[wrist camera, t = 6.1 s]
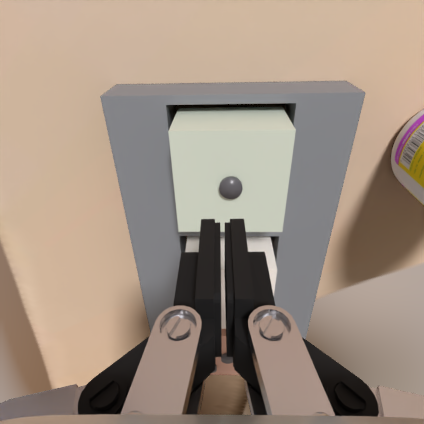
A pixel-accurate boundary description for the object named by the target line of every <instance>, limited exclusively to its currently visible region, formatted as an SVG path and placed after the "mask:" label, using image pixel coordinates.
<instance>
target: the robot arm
mask: <svg viewBox="0 0 424 424" xmlns="http://www.w3.org/2000/svg"><path fill="white" fill-rule="evenodd" d="M225 313H226V351H227V357H233V367H234V370H235V371H236V372H237V373H238V374H239V375H240V376H242V377H243V378H244V384H245V389H246V393H247V398H248V403H249V407H250V412H251V415H200V409H201V404H202V398H203V393H204V387H205V379H206V378H207V377H208V376H209V375H210V374H211V373H212V372H213V371H214V370H215V367H216V357H222V334H221V240H220V222H217V223H215V219H201V226H200V239H199V252H182V253H181V257H180V263H179V270H178V277H177V283H176V290H175V297H174V303H173V307H170V308H168V309H166V310H164V311H163V312H162V313H161V314H160V315H159V316H158V318H157V319H156V321H155V323H154V326H153V329H152V331H151V334H150V336H149V337H148V338H147V339H145V340H144V341H143V342H141V343H140V344H139V345H137V346H136V347H135V348H133V349H132V350H131V351H129V352H128V353H127V354H125V355H124V356H123V357H121V358H120V359H119V360H117V361H116V362H115V363H113V364H112V365H111V366H109V367H108V368H107V369H105V370H104V371H103V372H101V373H100V374H99V375H97V376H96V377H95V378H93V379H92V380H91V381H90V382H89V383H88V384H87V385H85V386H81V387H78V386H77V384H75V385H70V386H66V387H61V388H57V389H53V390H49V391H44V392H40V393H35V394H31V395H26V396H22V397H18V398H13V399H9V400H7V401H4V402H2V403H0V424H424V396H423V395H418V394H414V393H409V392H405V391H401V390H397V389H392V388H388V387H384V386H378V387H377V388H372V387H369V386H367V384H365V383H364V382H363V381H362V380H361V379H360V378H358V377H357V376H355V375H354V374H353V373H351V372H350V371H348V370H347V369H346V368H344V367H343V366H341V365H340V364H339V363H337V362H336V361H334V360H333V359H332V358H330V357H329V356H328V355H326V354H325V353H323V352H322V351H321V350H319V349H318V348H316V347H315V346H314V345H312V344H311V343H310V342H308V341H307V340H305V339H304V338H303V337H302V336H301V334H300V332H299V329H298V327H297V325H296V322H295V320H294V319H293V317H292V316H291V315H290V314H289V313H288V312H287V311H286V310H284V309H282V308H280V307H277V306H275V301H274V296H273V291H272V286H271V280H270V275H269V270H268V265H267V260H266V255H265V252H248V246H247V239H246V231H245V223H244V219H230V222H225Z"/></svg>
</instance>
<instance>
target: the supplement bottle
mask: <svg viewBox="0 0 424 424" xmlns="http://www.w3.org/2000/svg"><path fill="white" fill-rule="evenodd" d="M391 166H392V170H393V173H394V175H395V176H396V178H397V179H398V181H399V182H400V183H401V184H402V185H403V186H404V187H405V188H406V189H407V190H408V191H409V192H410V193H411V194H412V195H413V196H414V197H415V198H416V199H417V200H418V201H419V202H420V203H421V204H422V205H423V206H424V109H423V110H421V111H420V112H419V113H417V114H416V115H415V116H414V117H412V118H411V119H410V120H409V121H408V122H407V124H406V125H405V126H404V127H403V129H402V130H401V131H400V133H399V135H398V136H397V138H396V140H395V143H394V145H393V148H392V154H391Z"/></svg>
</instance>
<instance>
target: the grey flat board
mask: <svg viewBox="0 0 424 424" xmlns="http://www.w3.org/2000/svg"><path fill="white" fill-rule="evenodd" d="M364 96H365V92H364V91H362V90H361V89H359V88H357V87H356V86H354V85H352V84H351V83H349V82H347V81H308V82H244V83H180V84H116V85H115V86H114V87H112V88H111V89H110V90H108V91H107V92H105V93H104V94H103V95H101V96H100V97H101V102H102V106H103V111H104V116H105V121H106V125H107V130H108V135H109V139H110V144H111V149H112V153H113V158H114V163H115V168H116V172H117V177H118V182H119V186H120V191H121V196H122V200H123V205H124V210H125V215H126V219H127V224H128V229H129V233H130V238H131V243H132V247H133V252H134V257H135V262H136V266H137V271H138V276H139V280H140V285H141V290H142V294H143V299H144V304H145V309H146V313H147V318H148V323H149V327H150V332H151V331H152V329H153V326H154V323H155V321H156V319H157V318H158V316H159V315H160V314H161V313H162V312H163V311H164V310H166V309H168V308H170V307H173V303H174V297H175V290H176V283H177V277H178V270H179V263H180V257H181V253H182V252H185V249H186V236H200V232H179V231H178V221H177V211H176V202H175V192H174V182H173V172H172V162H171V152H170V142H169V133H168V131H169V129H170V126H171V124H172V122H173V120H174V117H175V105H196V104H273V103H285V112H286V114H287V116H288V117H289V119H290V121H291V122H292V124H293V126H294V128H295V129H296V133H295V140H294V148H293V155H292V163H291V170H290V178H289V185H288V193H287V200H286V208H285V216H284V223H283V231H282V232H246V236H271V242H272V247H273V252H274V256H275V261H276V266H277V276H276V283H275V291H274V301H275V306H277V307H280V308H282V309H284V310H286V311H287V312H288V313H289V314H290V315H291V316H292V317H293V319H294V320H295V322H296V325H297V327H298V329H299V332H300V334H301V336H302V337H303V338H304V339H306V334H307V330H308V326H309V322H310V318H311V314H312V310H313V306H314V302H315V298H316V293H317V289H318V285H319V281H320V277H321V273H322V269H323V265H324V261H325V256H326V252H327V248H328V244H329V240H330V236H331V232H332V228H333V224H334V219H335V215H336V211H337V207H338V203H339V199H340V195H341V191H342V187H343V183H344V178H345V174H346V170H347V166H348V162H349V158H350V154H351V150H352V146H353V141H354V137H355V133H356V129H357V125H358V121H359V117H360V113H361V109H362V104H363V100H364ZM220 236H225V232H220Z"/></svg>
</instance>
